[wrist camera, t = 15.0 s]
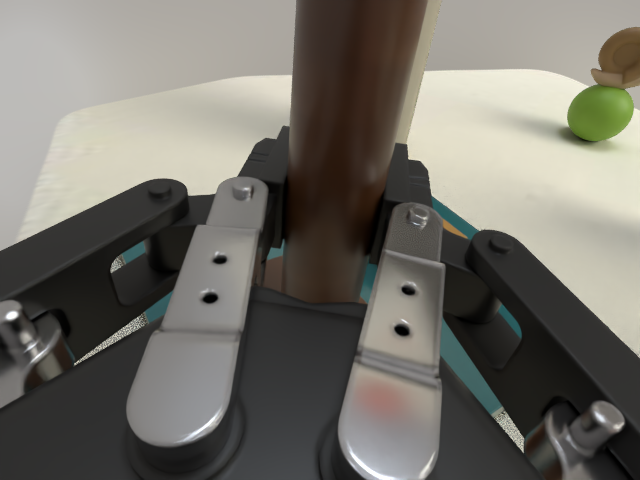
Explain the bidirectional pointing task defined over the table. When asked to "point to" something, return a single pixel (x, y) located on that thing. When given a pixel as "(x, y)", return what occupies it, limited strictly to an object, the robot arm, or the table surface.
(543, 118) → the table surface
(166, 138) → the table surface
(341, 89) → the brown post on base
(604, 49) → the snail figurine
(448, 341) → the tile
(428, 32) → the travel mug
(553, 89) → the table surface
